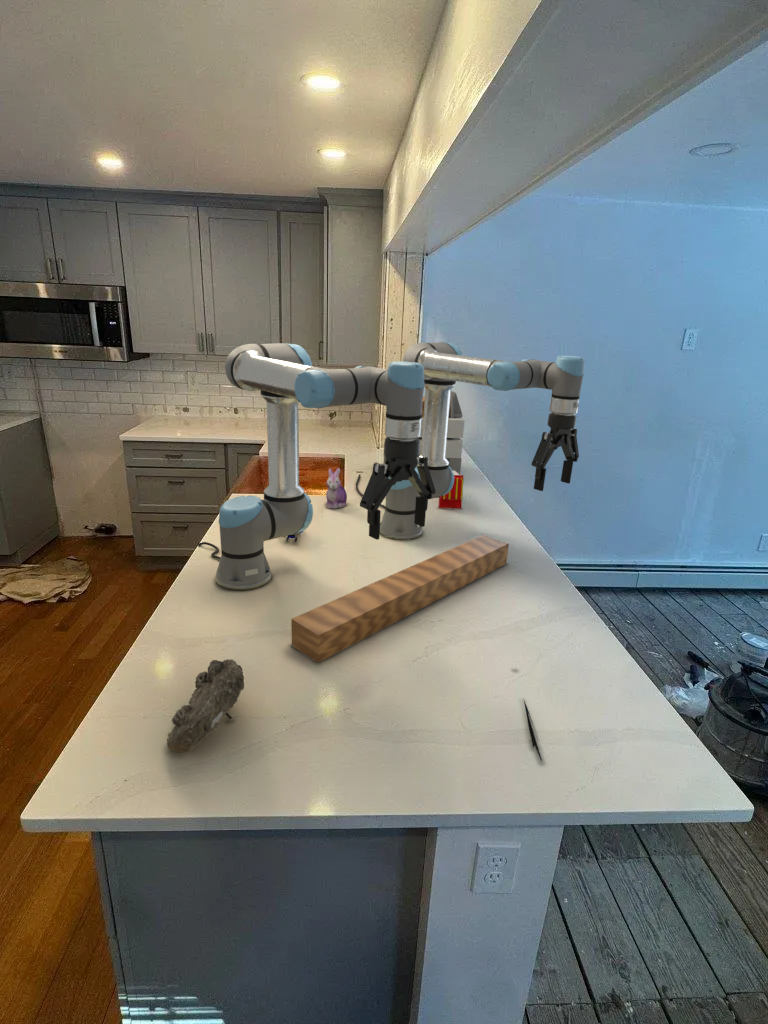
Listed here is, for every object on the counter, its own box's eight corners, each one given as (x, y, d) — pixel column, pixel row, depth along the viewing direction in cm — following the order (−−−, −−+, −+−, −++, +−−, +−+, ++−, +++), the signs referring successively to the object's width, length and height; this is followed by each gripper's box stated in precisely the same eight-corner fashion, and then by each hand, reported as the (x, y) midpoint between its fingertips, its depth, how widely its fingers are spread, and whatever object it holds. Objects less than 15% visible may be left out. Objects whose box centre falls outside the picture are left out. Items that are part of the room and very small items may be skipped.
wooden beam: (481, 554, 186) (483, 534, 184) (506, 563, 180) (509, 543, 178) (291, 645, 132) (291, 618, 130) (318, 663, 126) (318, 635, 123)
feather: (515, 674, 127) (521, 668, 126) (541, 765, 100) (548, 758, 100) (509, 670, 127) (514, 664, 126) (533, 761, 100) (540, 753, 99)
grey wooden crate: (382, 463, 289) (386, 382, 275) (445, 464, 293) (451, 384, 279) (390, 482, 257) (394, 392, 243) (460, 483, 261) (468, 394, 247)
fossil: (192, 660, 117) (244, 628, 112) (224, 691, 120) (276, 661, 115) (142, 746, 98) (202, 712, 93) (182, 779, 101) (242, 748, 96)
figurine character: (301, 548, 187) (306, 527, 201) (300, 528, 184) (305, 507, 197) (280, 547, 187) (287, 526, 201) (279, 527, 184) (286, 507, 197)
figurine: (329, 510, 219) (330, 473, 214) (320, 502, 228) (320, 466, 222) (352, 507, 223) (353, 470, 218) (341, 499, 232) (342, 464, 227)
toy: (456, 466, 252) (467, 476, 223) (454, 496, 255) (465, 509, 225) (428, 465, 252) (437, 475, 222) (427, 495, 254) (435, 508, 225)
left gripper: (367, 448, 109) (364, 549, 116) (456, 434, 125) (448, 524, 132) (344, 440, 115) (342, 537, 122) (431, 428, 130) (425, 515, 137)
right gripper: (548, 419, 148) (537, 496, 155) (598, 411, 163) (586, 482, 171) (524, 414, 153) (515, 489, 160) (575, 407, 169) (564, 476, 176)
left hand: (397, 531), depth 127 cm, fingers open, 13 cm apart
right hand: (552, 486), depth 166 cm, fingers open, 13 cm apart
